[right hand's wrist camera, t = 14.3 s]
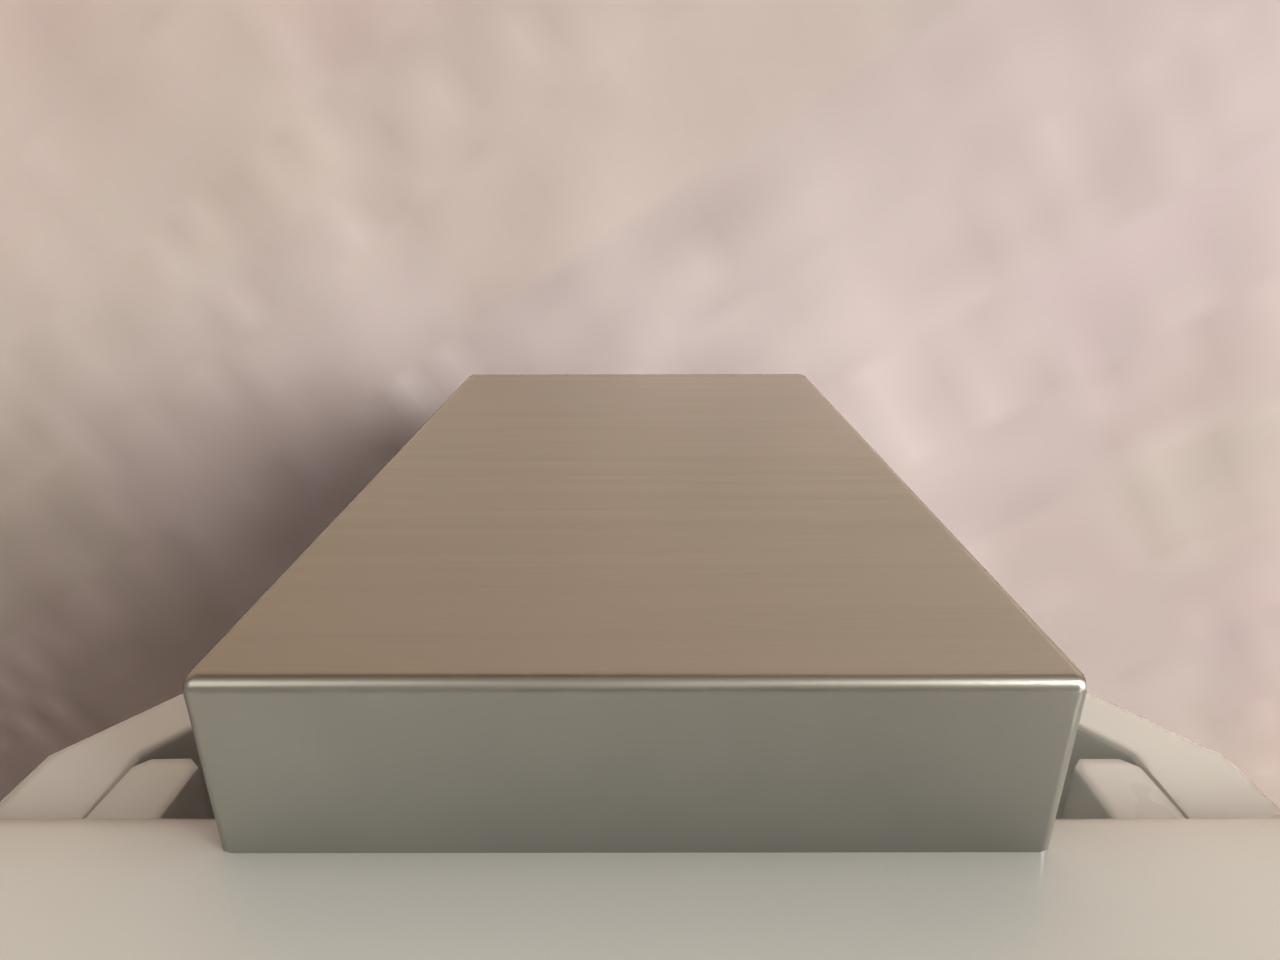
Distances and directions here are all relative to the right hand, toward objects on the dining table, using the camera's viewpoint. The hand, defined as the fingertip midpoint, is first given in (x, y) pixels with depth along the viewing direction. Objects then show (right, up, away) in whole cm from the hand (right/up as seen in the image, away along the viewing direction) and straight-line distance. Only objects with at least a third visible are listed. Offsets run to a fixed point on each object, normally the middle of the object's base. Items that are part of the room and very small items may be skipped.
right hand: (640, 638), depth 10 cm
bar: (0, -8, +6) cm, 10 cm away
